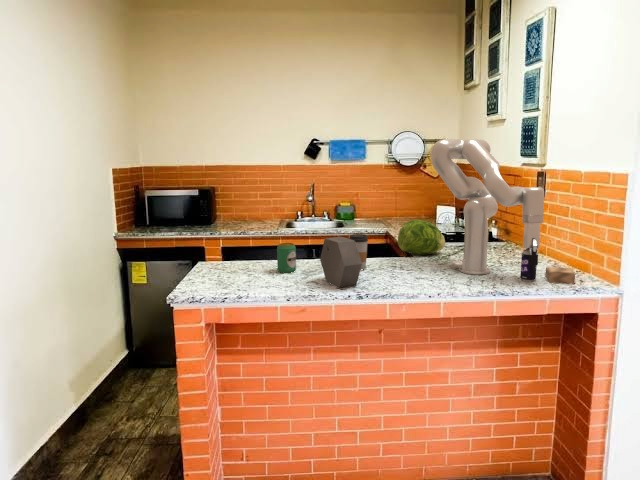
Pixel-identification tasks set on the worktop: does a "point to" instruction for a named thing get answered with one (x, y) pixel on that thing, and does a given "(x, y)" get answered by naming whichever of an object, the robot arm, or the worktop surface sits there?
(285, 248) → the beverage can
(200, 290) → the worktop surface
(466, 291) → the worktop surface
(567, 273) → the plinth
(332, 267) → the dark hexagonal prism
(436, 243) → the lettuce
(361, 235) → the coffee cup
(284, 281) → the worktop surface
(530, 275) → the beverage can
